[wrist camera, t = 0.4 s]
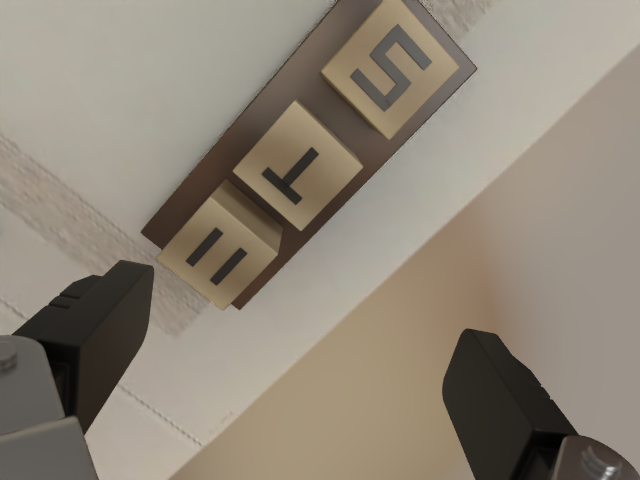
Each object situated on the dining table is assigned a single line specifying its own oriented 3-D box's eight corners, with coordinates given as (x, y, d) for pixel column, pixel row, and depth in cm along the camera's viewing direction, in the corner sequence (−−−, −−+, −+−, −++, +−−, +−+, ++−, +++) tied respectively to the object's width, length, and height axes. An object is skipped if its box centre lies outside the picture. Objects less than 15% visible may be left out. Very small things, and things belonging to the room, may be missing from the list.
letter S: (377, 6, 21) (392, -11, 17) (434, 70, 22) (461, 67, 18) (318, 73, 22) (320, 71, 18) (375, 131, 22) (389, 141, 19)
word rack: (375, -41, 21) (394, -78, 16) (471, 69, 23) (515, 65, 18) (146, 227, 25) (106, 261, 20) (241, 302, 27) (227, 351, 22)
